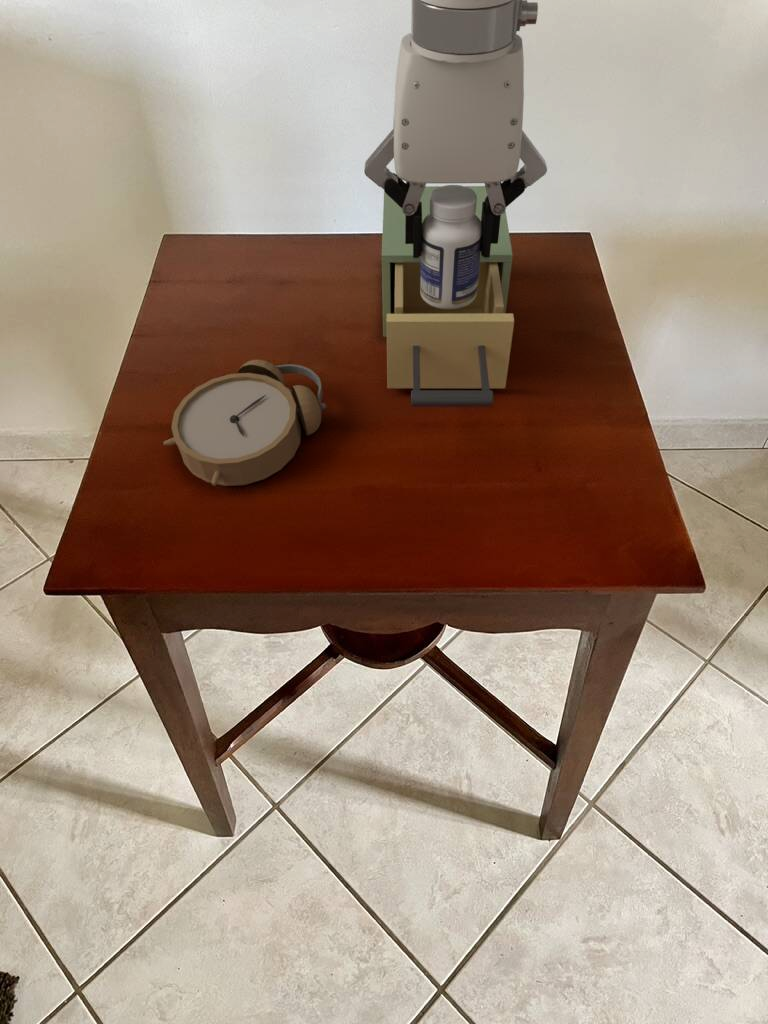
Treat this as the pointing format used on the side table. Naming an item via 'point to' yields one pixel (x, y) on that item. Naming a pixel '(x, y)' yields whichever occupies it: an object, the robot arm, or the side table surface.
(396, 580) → the side table surface
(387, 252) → the cabinet
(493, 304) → the drawer
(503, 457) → the side table surface
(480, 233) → the pill bottle
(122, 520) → the side table surface
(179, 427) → the alarm clock
